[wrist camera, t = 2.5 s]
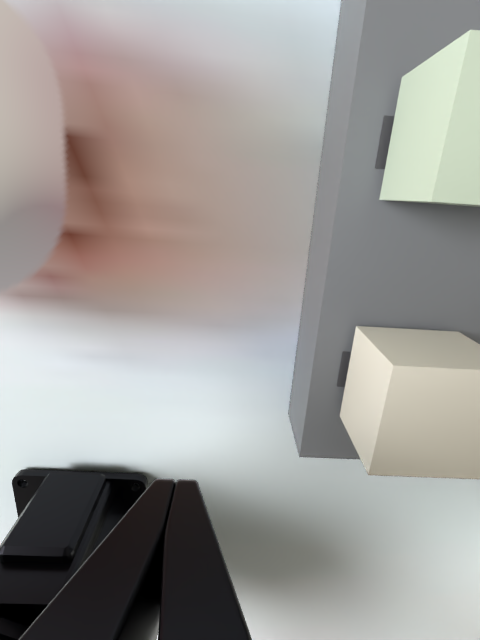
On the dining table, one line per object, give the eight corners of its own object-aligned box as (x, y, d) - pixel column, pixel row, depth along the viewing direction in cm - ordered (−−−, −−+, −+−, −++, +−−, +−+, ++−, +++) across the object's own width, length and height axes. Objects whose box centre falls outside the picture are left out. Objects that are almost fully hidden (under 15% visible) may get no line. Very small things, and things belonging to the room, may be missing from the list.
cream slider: (433, 419, 14) (486, 479, 11) (339, 415, 13) (367, 475, 11) (458, 331, 12) (525, 372, 10) (356, 325, 12) (393, 365, 9)
